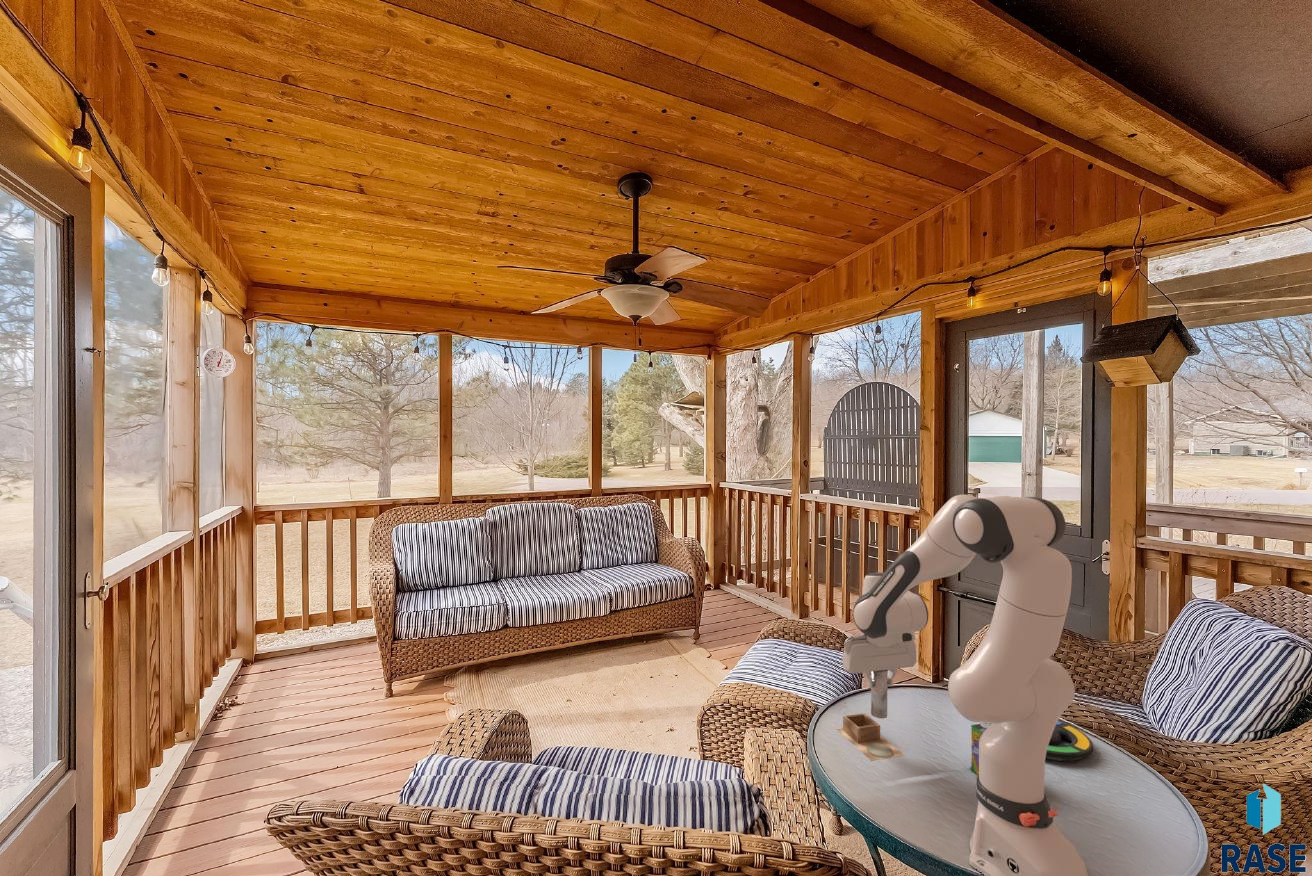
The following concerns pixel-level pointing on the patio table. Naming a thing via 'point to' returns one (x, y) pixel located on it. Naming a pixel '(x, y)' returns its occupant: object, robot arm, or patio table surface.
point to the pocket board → (867, 737)
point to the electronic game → (1073, 751)
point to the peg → (879, 694)
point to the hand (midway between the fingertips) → (879, 685)
